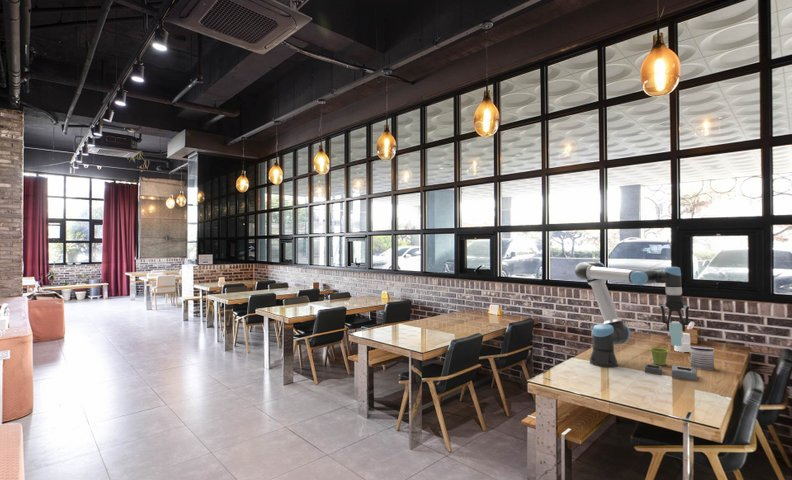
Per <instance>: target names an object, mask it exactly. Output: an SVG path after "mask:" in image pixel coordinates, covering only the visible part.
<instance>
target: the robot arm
mask: <svg viewBox="0 0 792 480" xmlns="http://www.w3.org/2000/svg"><path fill="white" fill-rule="evenodd" d="M574 273H575V275H576V277H577V278H578V279H580V280H584V281H586V282H587V284H588V285H589V286H591V288H592V292H593V295H594V297H595V299H596V302H597V305H598V308H599V311H600V313H601V317H602V319H603V323H602V324H601V323H599V324H595V325H594V326H592V331H591V333H592V351H591V355H590V357H589V364H592V365H593V366H597V367H603V368H615V367H617V366H618V359H617V357H616V353H615V346H616V345H621V344H624V343H627V342H628V341H629V340H630V338H631V330H630V328H629V327H628V326H627V325H626V324H624V322H623V320H622V319H620V317H619V316H618V313H617V309H616V308H615V306H614V303H613V300H612V296H611V294H610V291H609V289H608V286H607V284H606V281H611V282H620V283H629V284H634V285H636V286H637V285H639V286H643V285H649V284H650V285H651V284H664V285H665V294H666V295H665V300H666V301H665V304H661V305H660V309H661V317H662V318H661V319H662V323H663V324H665V325H666V330H667V331H669V338H671V326H670V323H671V319H672V318H671V317H672V315H673V314H672V313H673V312H677V313H678V317H679V320H680V323H681V325H680V327H681V337H682V338H683V333H684V332H685V331H686V326H687V325H689V321H690V320H689V319H690V318H689V309H690V306H688V305H685V304H684V301H683V295H682V294H683V288H682V287H683V286H682V271H681V268H680V267H678V266H665V267H664V269H662V270H660V269H659V270H657V269H645V270H635V269H624V268H611V267H607V266H605V265H604V263H602V262H600V261H583V262H579V263H578V264H577V265H576V266H575V269H574ZM666 308H667V309H668V315H667V319H666V311H665V309H666ZM682 309H684V311H685V315H684V316H685V320H684V317H683V315H682V311H681V310H682ZM614 345H615V346H614Z"/></svg>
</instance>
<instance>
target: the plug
mask: <svg viewBox="0 0 792 480" xmlns="http://www.w3.org/2000/svg"><path fill="white" fill-rule="evenodd" d="M669 324H670V326H671V337H670V341H671V342H670V344H671V346H673V347H674V346H682V339H681V327H680V325H682V323H681V322H680V321H676V320H675V321H674V320H673V321H670V323H669Z"/></svg>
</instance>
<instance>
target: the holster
mask: <svg viewBox="0 0 792 480" xmlns="http://www.w3.org/2000/svg"><path fill="white" fill-rule="evenodd" d="M662 366H663V365H657V364H650V363H649V364H647V363H646V364H645V365H644V373H647V374H653V375H659V376H661V375H662V369H663V368H662Z"/></svg>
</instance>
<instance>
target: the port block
mask: <svg viewBox="0 0 792 480" xmlns="http://www.w3.org/2000/svg"><path fill="white" fill-rule="evenodd" d="M697 369H698V368H694V367H691V366H689V367H688V366H682V365H672V368H671V376H672V377H671V378H674V379H680V380H687V381H693V382H698V373H697Z"/></svg>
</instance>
